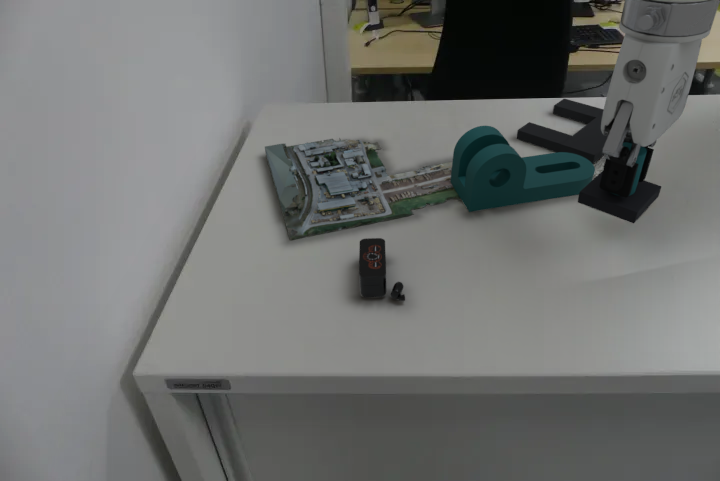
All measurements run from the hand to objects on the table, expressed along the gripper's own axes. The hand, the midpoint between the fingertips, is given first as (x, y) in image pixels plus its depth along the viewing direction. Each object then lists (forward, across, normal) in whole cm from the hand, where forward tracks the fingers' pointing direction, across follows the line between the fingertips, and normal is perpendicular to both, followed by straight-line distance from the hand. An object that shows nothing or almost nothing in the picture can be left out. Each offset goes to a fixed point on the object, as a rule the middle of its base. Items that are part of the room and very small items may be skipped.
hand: (622, 183), depth 62 cm
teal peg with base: (+2, 0, 0) cm, 2 cm away
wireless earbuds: (+6, -24, +14) cm, 29 cm away
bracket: (+6, +2, +12) cm, 14 cm away
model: (+6, -8, +29) cm, 31 cm away
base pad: (+7, +20, +14) cm, 25 cm away
